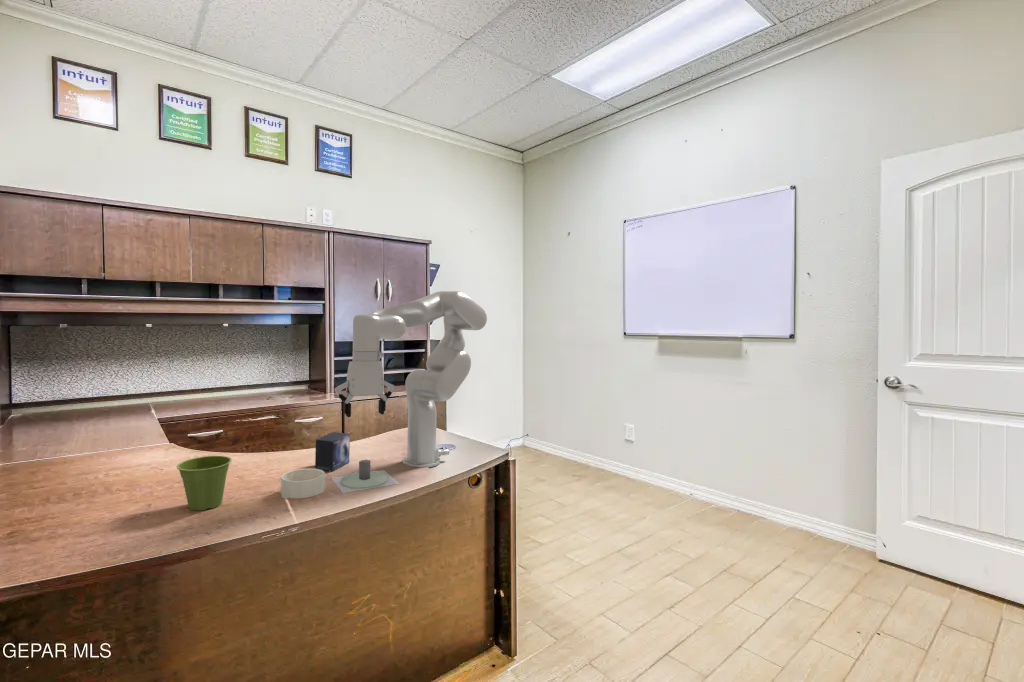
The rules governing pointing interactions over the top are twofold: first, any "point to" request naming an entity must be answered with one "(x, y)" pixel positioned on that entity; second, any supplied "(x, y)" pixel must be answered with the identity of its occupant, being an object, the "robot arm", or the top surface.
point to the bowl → (302, 483)
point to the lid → (364, 477)
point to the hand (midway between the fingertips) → (365, 415)
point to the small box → (332, 451)
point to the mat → (346, 489)
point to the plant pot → (204, 480)
